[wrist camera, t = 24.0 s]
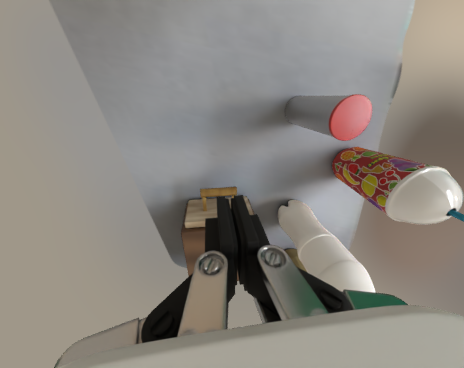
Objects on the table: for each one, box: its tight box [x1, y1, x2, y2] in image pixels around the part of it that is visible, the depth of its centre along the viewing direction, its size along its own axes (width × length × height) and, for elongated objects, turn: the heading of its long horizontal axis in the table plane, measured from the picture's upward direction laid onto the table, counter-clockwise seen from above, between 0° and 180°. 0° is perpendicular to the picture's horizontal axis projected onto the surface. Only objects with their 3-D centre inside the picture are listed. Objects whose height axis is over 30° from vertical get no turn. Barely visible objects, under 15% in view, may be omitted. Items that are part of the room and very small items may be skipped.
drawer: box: [185, 187, 254, 229], centre depth 33 cm, size 17×11×7 cm
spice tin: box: [285, 95, 372, 141], centre depth 24 cm, size 5×5×12 cm
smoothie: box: [332, 147, 464, 225], centre depth 26 cm, size 8×8×20 cm
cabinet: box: [181, 199, 255, 281], centre depth 35 cm, size 14×13×9 cm
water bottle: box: [278, 200, 375, 293], centre depth 28 cm, size 7×7×25 cm
